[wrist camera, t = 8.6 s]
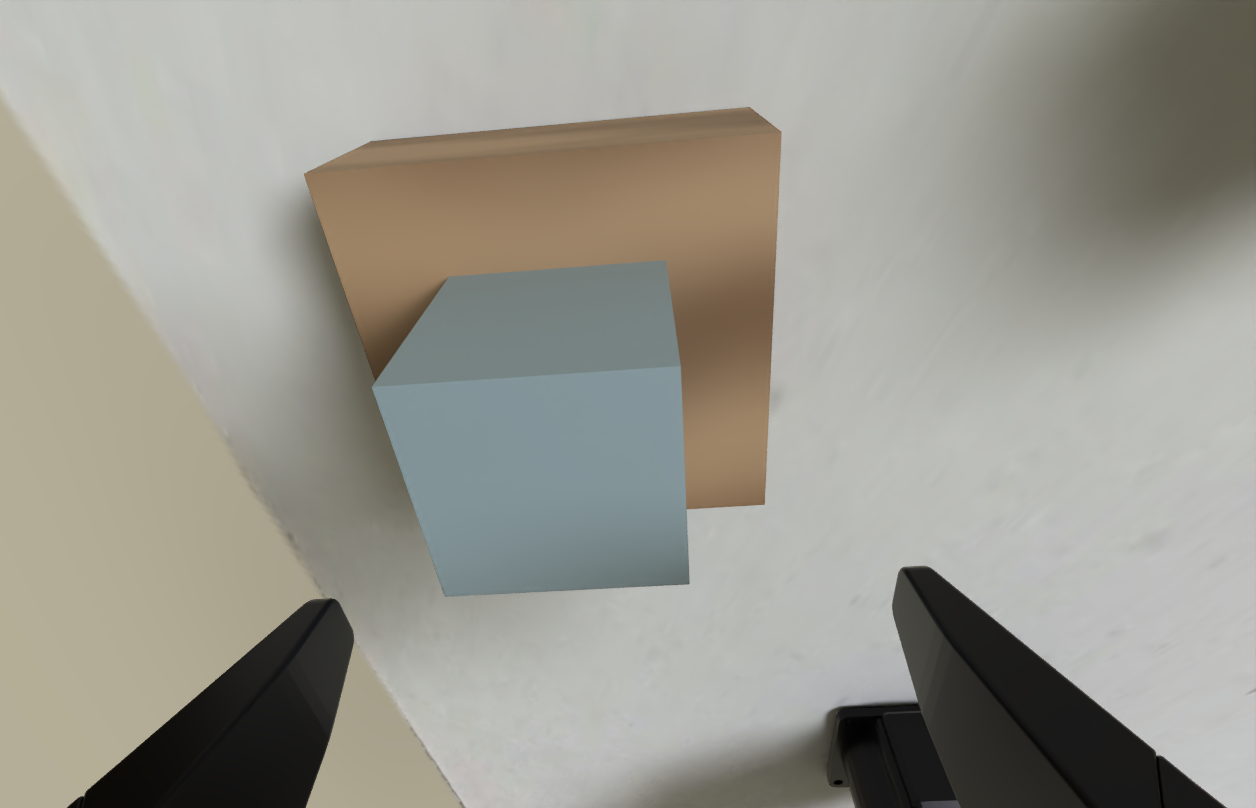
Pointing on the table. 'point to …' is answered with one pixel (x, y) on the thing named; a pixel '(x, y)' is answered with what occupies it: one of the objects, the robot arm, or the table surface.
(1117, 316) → the table surface
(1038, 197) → the table surface
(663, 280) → the slate block
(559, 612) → the table surface
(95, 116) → the table surface
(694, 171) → the walnut block
